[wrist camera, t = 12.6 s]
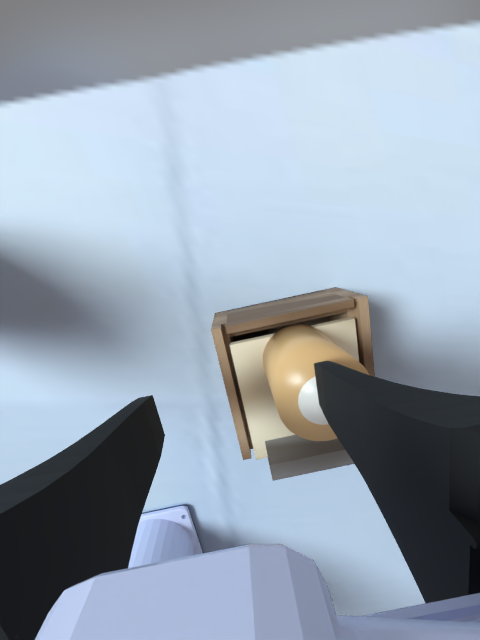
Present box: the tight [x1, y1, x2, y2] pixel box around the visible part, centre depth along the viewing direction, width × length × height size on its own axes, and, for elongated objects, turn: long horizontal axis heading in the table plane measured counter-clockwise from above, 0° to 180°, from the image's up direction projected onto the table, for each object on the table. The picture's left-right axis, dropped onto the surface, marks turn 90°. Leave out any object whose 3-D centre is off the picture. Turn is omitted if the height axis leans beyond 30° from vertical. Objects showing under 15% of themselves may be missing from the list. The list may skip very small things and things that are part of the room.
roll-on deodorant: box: [263, 324, 370, 441], centre depth 14 cm, size 5×5×5 cm
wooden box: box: [211, 287, 375, 460], centre depth 19 cm, size 10×10×5 cm
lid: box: [230, 317, 359, 481], centre depth 17 cm, size 9×8×3 cm
